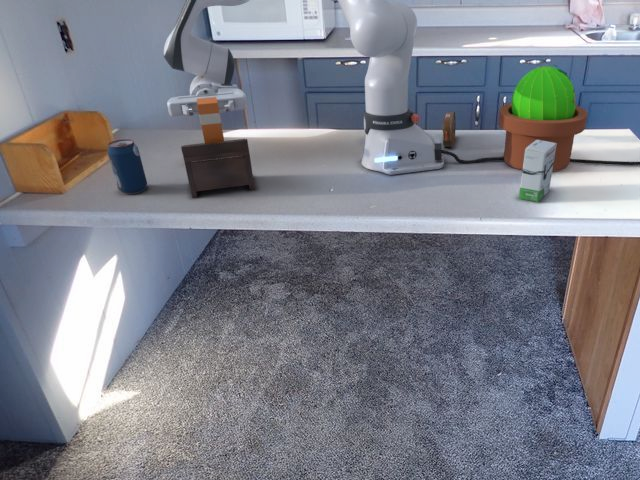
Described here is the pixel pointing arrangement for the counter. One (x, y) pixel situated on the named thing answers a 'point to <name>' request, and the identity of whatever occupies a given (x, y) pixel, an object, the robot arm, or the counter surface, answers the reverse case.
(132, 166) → the soda can
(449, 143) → the tin
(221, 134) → the packet
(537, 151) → the ink box
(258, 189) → the counter surface
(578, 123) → the potted cactus
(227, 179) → the brown wooden cabinet
